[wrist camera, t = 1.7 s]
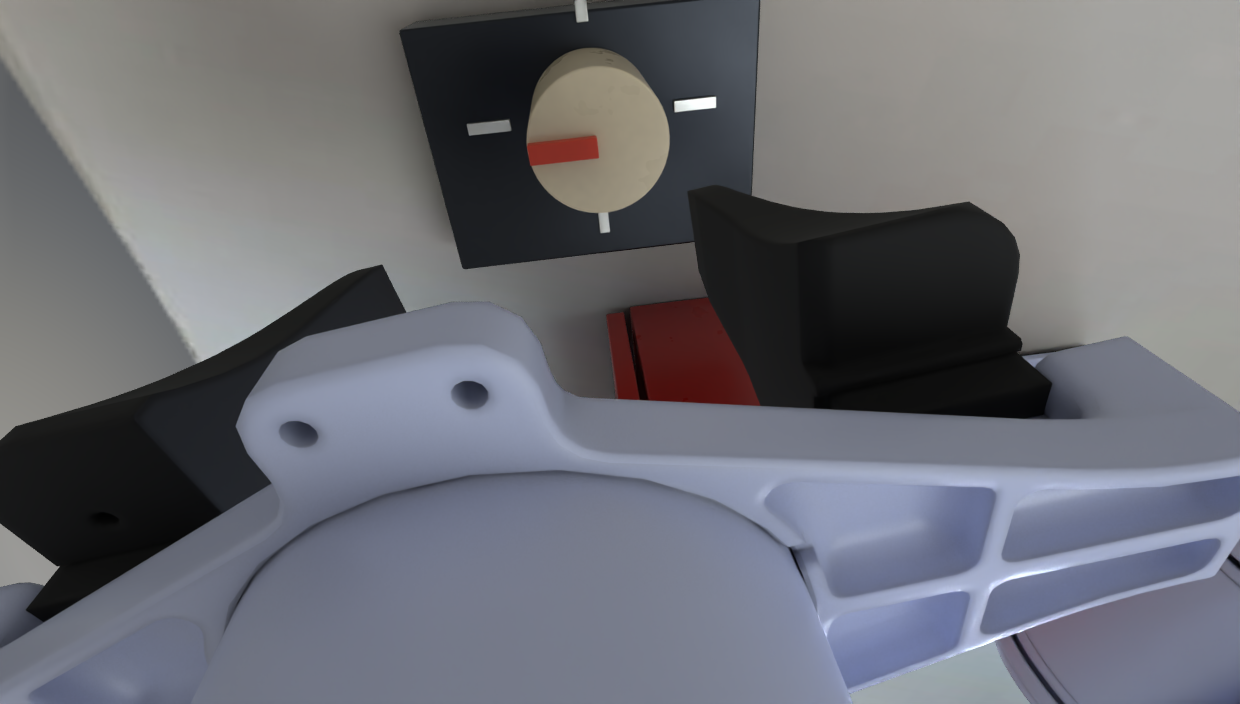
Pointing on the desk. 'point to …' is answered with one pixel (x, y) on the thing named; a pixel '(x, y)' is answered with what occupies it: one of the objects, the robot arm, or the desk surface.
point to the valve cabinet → (687, 355)
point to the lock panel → (501, 102)
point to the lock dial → (596, 131)
